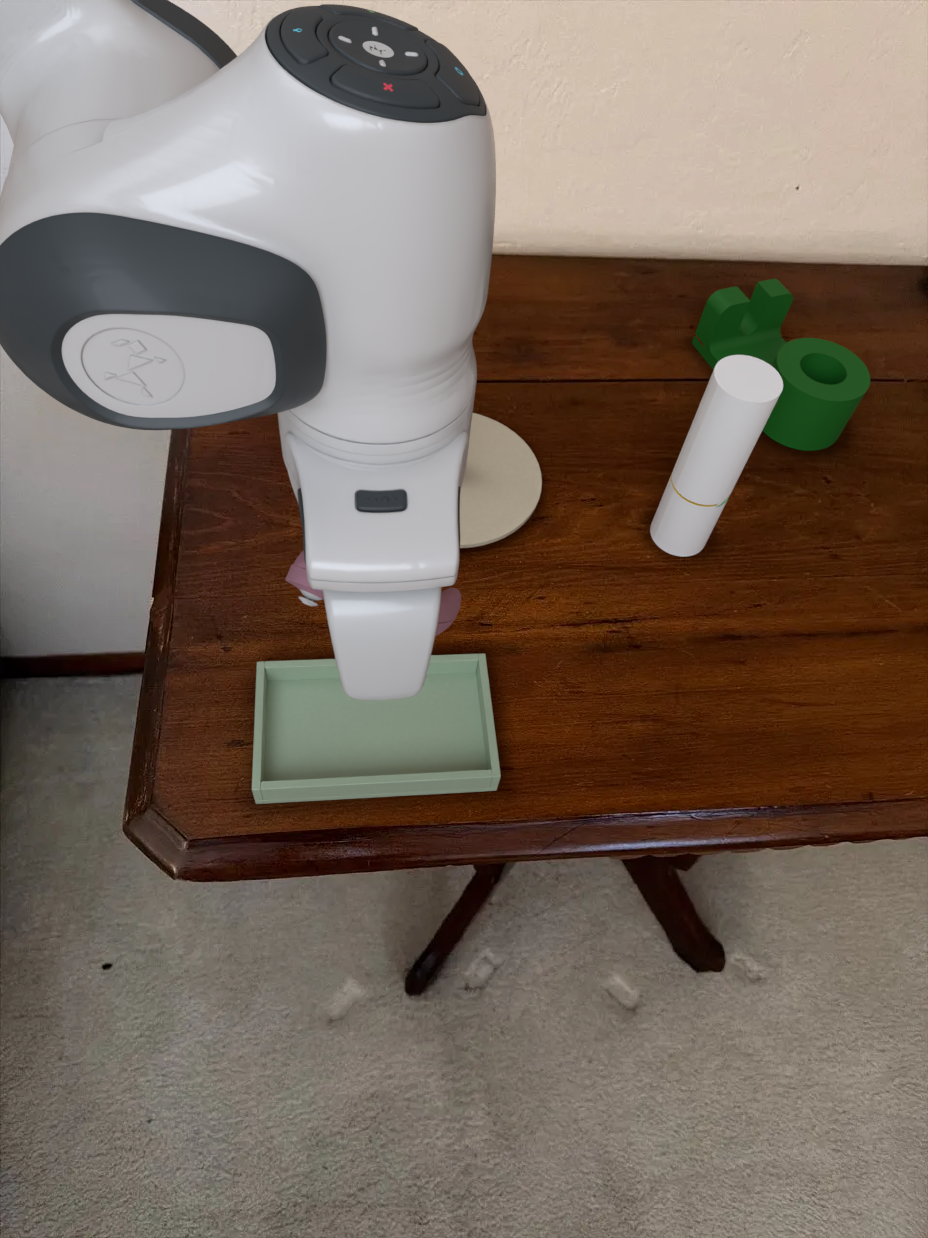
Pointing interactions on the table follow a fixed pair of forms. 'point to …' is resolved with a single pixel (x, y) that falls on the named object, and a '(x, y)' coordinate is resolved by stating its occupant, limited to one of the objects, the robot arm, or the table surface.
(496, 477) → the lid
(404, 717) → the tray
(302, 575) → the video game controller
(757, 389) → the tube
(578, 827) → the table surface
